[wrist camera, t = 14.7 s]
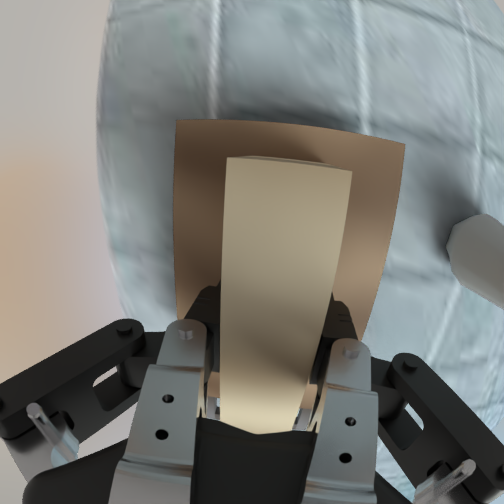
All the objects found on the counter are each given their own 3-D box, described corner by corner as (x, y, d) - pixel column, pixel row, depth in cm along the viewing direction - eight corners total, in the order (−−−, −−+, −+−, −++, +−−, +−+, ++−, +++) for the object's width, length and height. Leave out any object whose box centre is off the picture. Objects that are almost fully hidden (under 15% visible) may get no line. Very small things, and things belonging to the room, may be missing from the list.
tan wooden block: (208, 128, 15) (110, 106, 6) (372, 145, 14) (471, 145, 5) (207, 409, 24) (180, 491, 15) (305, 422, 23) (302, 508, 14)
